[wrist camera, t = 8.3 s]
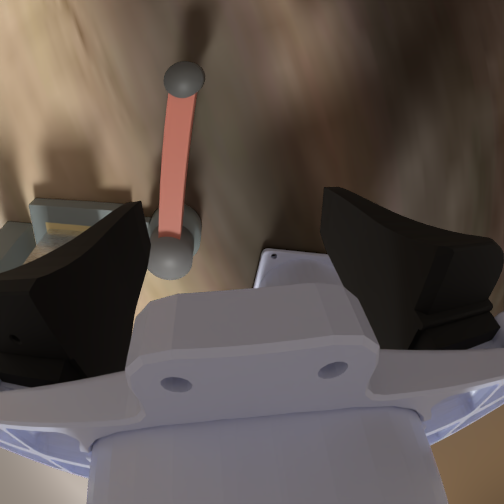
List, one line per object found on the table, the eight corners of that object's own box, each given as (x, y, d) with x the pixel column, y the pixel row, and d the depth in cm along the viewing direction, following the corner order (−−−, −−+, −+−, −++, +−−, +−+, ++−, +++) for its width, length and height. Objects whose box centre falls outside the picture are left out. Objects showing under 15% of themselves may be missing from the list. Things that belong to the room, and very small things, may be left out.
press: (204, 205, 22) (196, 286, 15) (194, 299, 27) (190, 384, 20) (2, 191, 19) (-59, 250, 12) (22, 276, 24) (-15, 342, 17)
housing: (102, 233, 21) (75, 285, 16) (109, 282, 24) (89, 336, 19) (49, 228, 20) (15, 275, 15) (60, 276, 23) (34, 326, 18)
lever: (218, 64, 15) (217, 64, 13) (192, 262, 22) (190, 282, 20) (162, 60, 14) (154, 59, 12) (150, 258, 22) (144, 277, 20)
